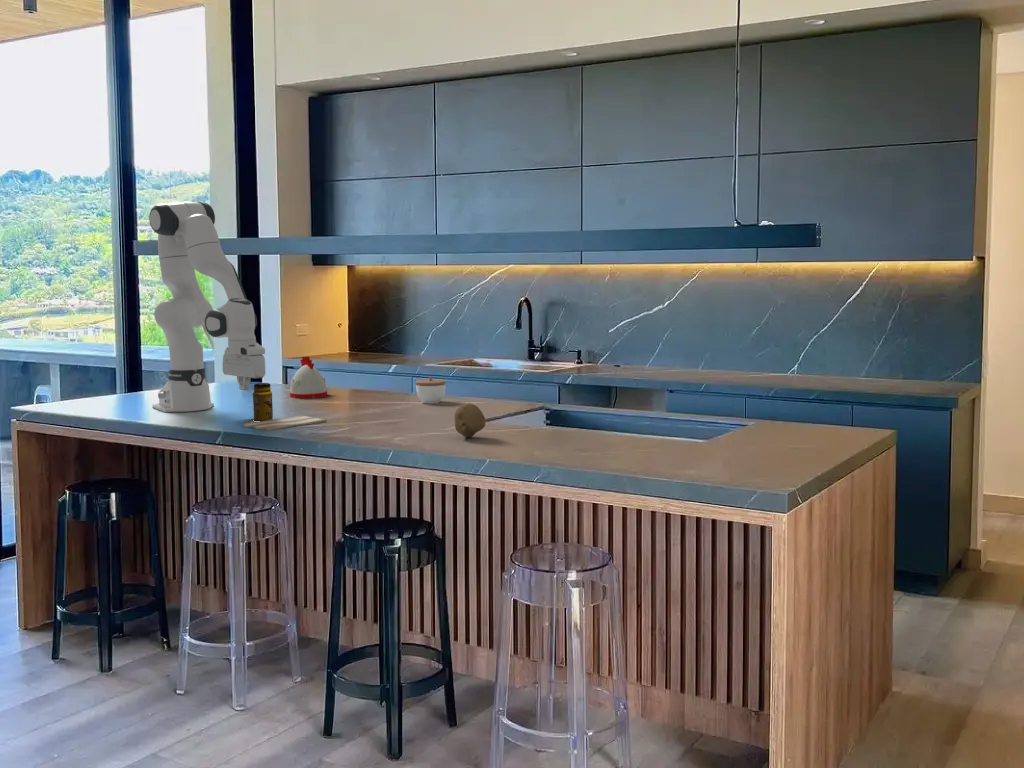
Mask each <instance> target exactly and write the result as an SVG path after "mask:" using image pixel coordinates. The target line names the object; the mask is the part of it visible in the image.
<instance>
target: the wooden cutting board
mask: <svg viewBox="0 0 1024 768" xmlns="http://www.w3.org/2000/svg"><path fill="white" fill-rule="evenodd" d="M272 419H273V420H266V421H260V422H253V423H251V422H246V423H242V427H245V428H251V429H252V428H253V429H257V430H261V431H274V430H275V431H276V430H281V429H282V430H283V429H287V428H288V429H289V428H294V426H295V427H299V426H300V425H301V426H306V424H308V425H312V424H313V423H314V424H318V423H325V422H327V419H324V418H317V417H313V416H306V415H295V416H288V417H281V418H272ZM314 424H313V425H314ZM301 426H300V427H301Z"/></svg>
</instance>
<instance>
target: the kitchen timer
mask: <svg viewBox="0 0 1024 768" xmlns="http://www.w3.org/2000/svg"><path fill="white" fill-rule="evenodd" d="M312 361H313V360H312V359H310V356H302V358H301V359H300V365H301V367H300V368H298V370H297V371H296V372H295V374H294V375H293V377H292V378H290V388H289V398H292V399H318V398H325V397H327V396H328V389H327V385H326V378H325V377H323V375H322V374H321V372H320V371H319V370H318V369H317V368H316V367H315V363H313V362H312Z"/></svg>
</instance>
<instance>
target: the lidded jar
mask: <svg viewBox="0 0 1024 768" xmlns="http://www.w3.org/2000/svg"><path fill="white" fill-rule="evenodd" d="M446 384H447V382H446V380H444V379H439V378H433V376H429V377H428V379H426V378H425V379H418V380H416V381H415V391H416V395H417V397H418V399H419V400H420V401H421V402H422V404H427V405H429V404H432V405H433V404H440V402H441V401H442V399H443V398H444V396H445V394H446Z"/></svg>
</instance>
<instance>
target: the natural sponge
mask: <svg viewBox="0 0 1024 768" xmlns="http://www.w3.org/2000/svg"><path fill="white" fill-rule="evenodd" d="M485 417H486V416H484V413H483V411H482V410H481V409H480V407H478V406H477V405H476V404H473V403H464V404H461V405H459V407H457V408H456V410H455V412H454V428H455V430H456V432H457V433H458V434H460V435H461V436H463V438H467V439H468V438H472V437H473V436H474V435H476V434H477V433H478V432H481V431H482V430H483V429H484V428H485V426H486V422H487V420H486V418H485Z"/></svg>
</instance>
